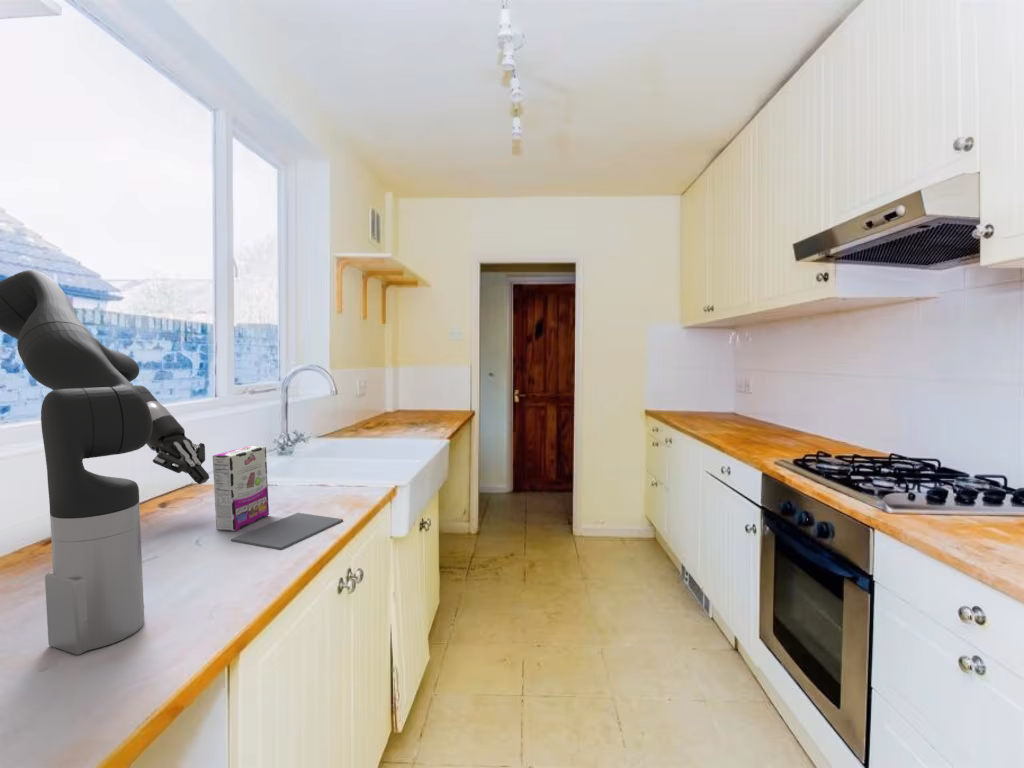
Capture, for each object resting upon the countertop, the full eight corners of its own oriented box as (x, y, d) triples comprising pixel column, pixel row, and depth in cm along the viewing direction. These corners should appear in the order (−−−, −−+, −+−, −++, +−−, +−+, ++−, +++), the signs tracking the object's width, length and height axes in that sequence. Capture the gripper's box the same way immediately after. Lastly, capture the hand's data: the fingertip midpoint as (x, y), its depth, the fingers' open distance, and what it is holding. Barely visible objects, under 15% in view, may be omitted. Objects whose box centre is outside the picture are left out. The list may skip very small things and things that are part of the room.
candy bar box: (250, 514, 119) (248, 445, 118) (269, 515, 118) (267, 446, 117) (213, 530, 108) (211, 454, 107) (234, 532, 107) (231, 455, 106)
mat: (280, 549, 98) (280, 547, 98) (231, 540, 102) (230, 538, 102) (343, 520, 114) (343, 519, 114) (297, 514, 119) (297, 512, 119)
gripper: (171, 432, 123) (217, 484, 121) (119, 441, 110) (170, 500, 108) (189, 411, 122) (235, 463, 120) (139, 418, 109) (190, 477, 107)
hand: (204, 481), depth 114 cm, fingers closed
